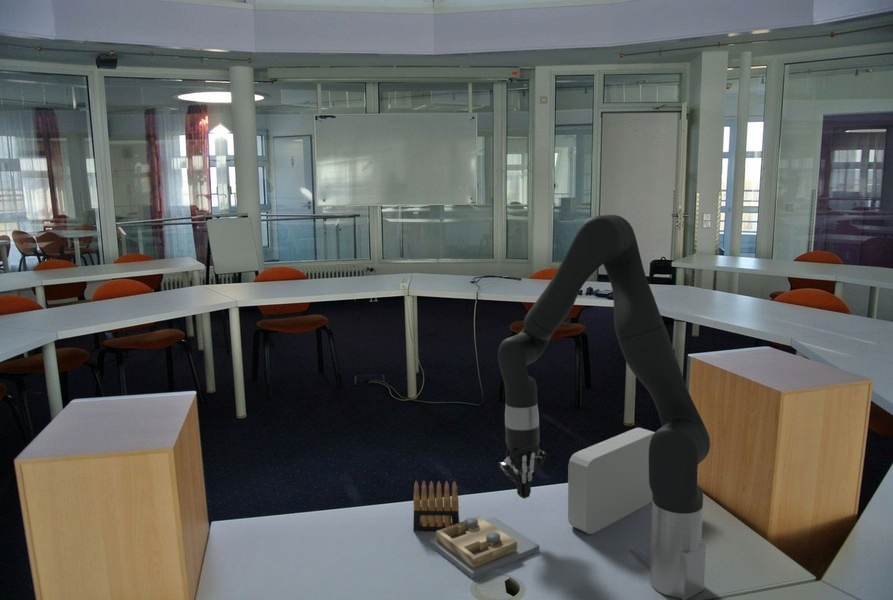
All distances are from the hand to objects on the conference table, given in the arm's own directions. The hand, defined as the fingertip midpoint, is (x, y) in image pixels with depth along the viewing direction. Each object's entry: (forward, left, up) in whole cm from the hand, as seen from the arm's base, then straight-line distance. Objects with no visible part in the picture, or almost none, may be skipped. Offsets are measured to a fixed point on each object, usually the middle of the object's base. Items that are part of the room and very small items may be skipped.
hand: (524, 496), depth 150 cm
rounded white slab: (-6, -24, -9) cm, 26 cm away
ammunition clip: (+13, +15, -9) cm, 22 cm away
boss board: (0, +11, -9) cm, 14 cm away
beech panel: (0, +13, -7) cm, 15 cm away
